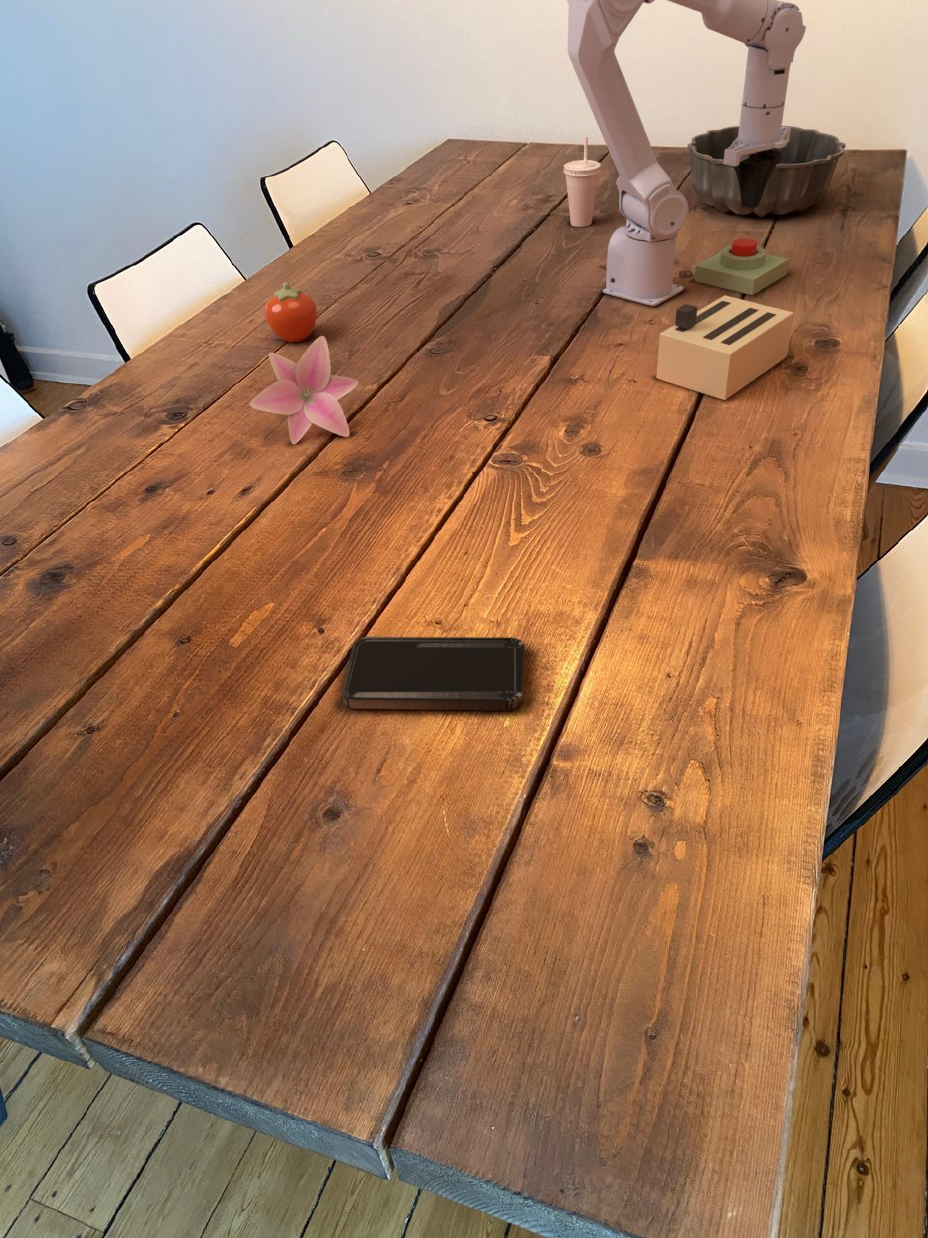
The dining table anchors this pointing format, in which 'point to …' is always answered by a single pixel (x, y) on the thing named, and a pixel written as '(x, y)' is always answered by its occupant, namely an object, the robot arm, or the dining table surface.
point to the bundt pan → (789, 184)
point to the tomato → (291, 314)
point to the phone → (435, 673)
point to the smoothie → (582, 188)
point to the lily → (307, 392)
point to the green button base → (741, 270)
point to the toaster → (724, 347)
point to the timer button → (744, 247)
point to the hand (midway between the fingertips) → (750, 206)
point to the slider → (686, 316)
